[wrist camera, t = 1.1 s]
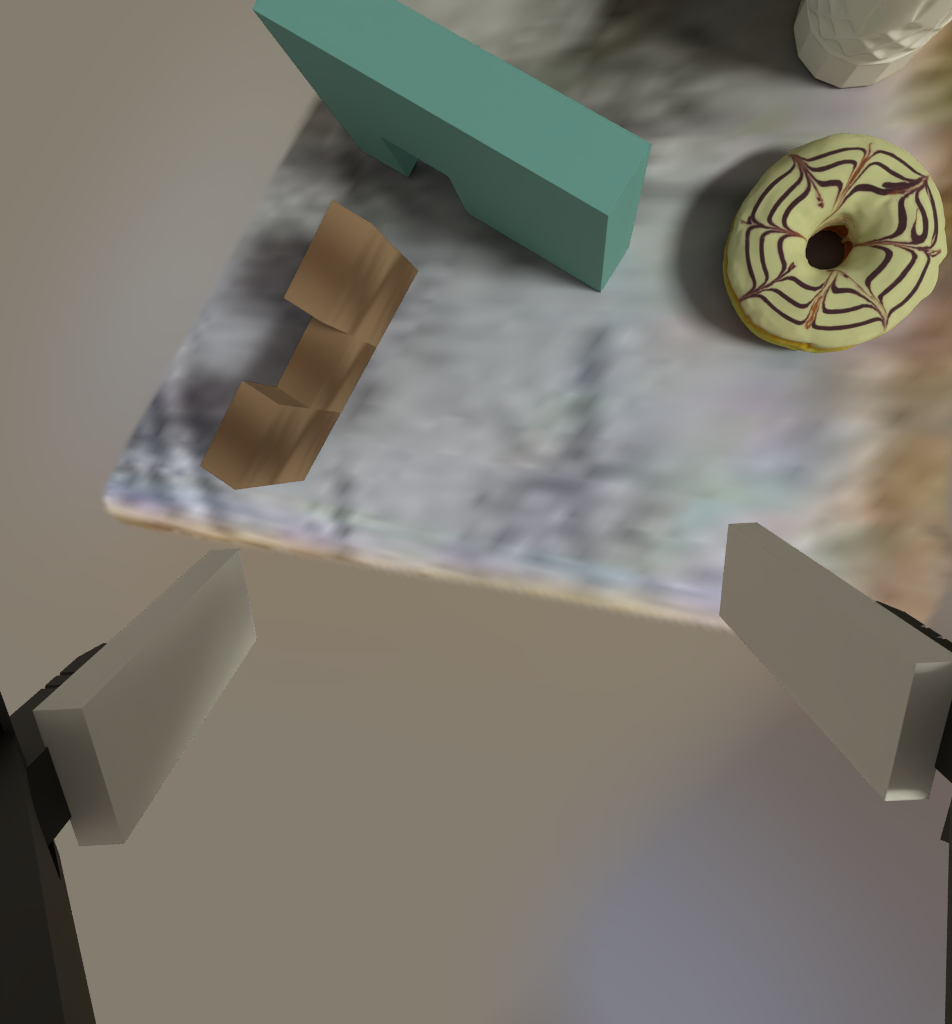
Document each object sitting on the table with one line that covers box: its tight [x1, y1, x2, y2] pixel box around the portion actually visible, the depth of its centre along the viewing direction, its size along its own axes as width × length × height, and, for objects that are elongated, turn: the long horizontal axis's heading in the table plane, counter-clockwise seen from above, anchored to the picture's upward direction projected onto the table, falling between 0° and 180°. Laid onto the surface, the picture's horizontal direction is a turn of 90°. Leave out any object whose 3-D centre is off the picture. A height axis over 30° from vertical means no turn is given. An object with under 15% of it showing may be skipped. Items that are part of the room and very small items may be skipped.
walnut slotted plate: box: [200, 200, 418, 490], centre depth 34 cm, size 16×2×8 cm, turn 148°
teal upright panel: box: [253, 0, 652, 292], centre depth 29 cm, size 18×3×12 cm, turn 58°
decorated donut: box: [723, 133, 947, 353], centre depth 31 cm, size 10×11×4 cm
